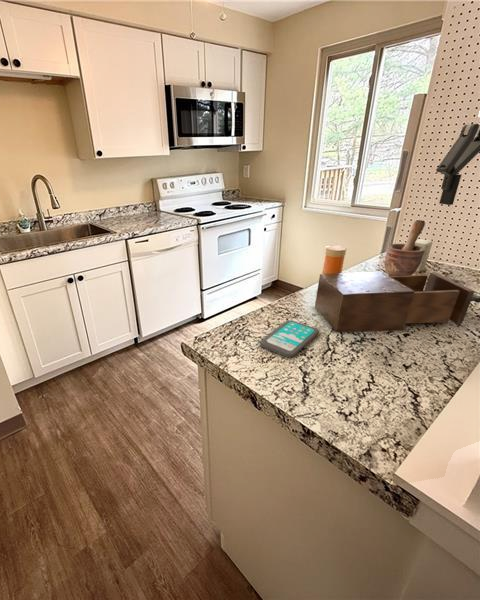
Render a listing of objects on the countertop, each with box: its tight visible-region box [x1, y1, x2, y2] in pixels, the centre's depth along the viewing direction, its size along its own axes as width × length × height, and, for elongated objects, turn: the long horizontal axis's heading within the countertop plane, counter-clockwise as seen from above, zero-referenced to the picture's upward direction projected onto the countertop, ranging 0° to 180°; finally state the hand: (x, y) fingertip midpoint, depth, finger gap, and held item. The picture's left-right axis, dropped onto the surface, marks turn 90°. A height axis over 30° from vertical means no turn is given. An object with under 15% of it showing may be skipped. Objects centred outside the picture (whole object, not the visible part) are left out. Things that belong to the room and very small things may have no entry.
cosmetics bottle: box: [415, 238, 434, 273], centre depth 107 cm, size 5×4×10 cm
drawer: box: [388, 271, 480, 325], centre depth 79 cm, size 19×12×9 cm, turn 84°
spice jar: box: [321, 245, 347, 274], centre depth 95 cm, size 5×5×15 cm
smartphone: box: [260, 319, 319, 358], centre depth 77 cm, size 9×1×15 cm
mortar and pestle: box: [384, 219, 426, 276], centre depth 94 cm, size 12×9×20 cm
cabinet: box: [314, 270, 415, 333], centre depth 81 cm, size 16×14×11 cm
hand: (475, 200), depth 72 cm, fingers open, 13 cm apart
